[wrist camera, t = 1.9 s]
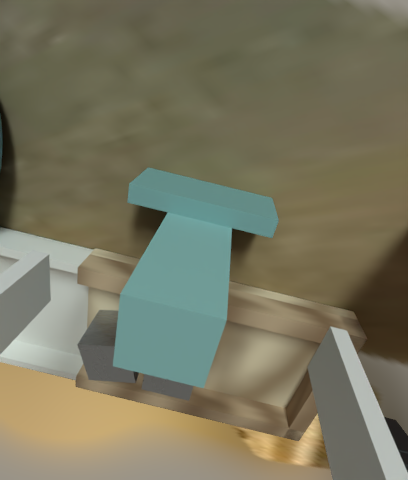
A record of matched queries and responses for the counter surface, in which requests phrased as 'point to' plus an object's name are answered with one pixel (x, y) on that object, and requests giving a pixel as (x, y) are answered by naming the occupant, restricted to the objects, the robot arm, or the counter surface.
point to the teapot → (0, 143)
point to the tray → (50, 307)
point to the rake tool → (183, 275)
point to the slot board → (235, 353)
